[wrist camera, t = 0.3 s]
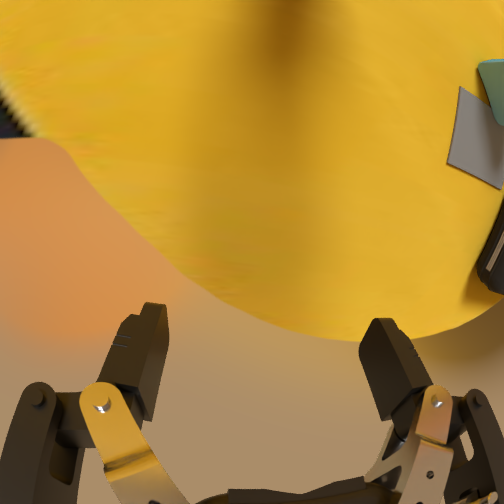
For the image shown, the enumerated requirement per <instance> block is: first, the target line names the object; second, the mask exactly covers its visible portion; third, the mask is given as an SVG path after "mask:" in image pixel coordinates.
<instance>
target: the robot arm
mask: <svg viewBox="0 0 504 504" xmlns="http://www.w3.org/2000/svg"><path fill="white" fill-rule="evenodd" d="M168 346H169V328H168V317H167V308H166V305H165V304H157V303H150V302H146V303H145V304H144V306H143V308H142V310H141V313H140V315H134V314H131V315H129V317H127V318H126V319H125V320H124V321H123V322H122V323H121V325H120V327H119V329H118V332H117V335H116V336H115V339H114V341H113V345H111V348H110V350H109V352H108V355H107V357H106V360H105V362H104V365H103V367H102V370H101V372H100V375H99V377H98V379H97V381H96V382H95V383H93V384H91V385H89V386H88V387H86V388H85V389H84V390H83V391H82V392H72V393H71V392H70V393H60V392H58V393H57V392H54V390H53V389H52V388H51V387H50V386H49V385H48V384H46V383H43V382H35V383H32V384H30V385H28V386H27V387H26V388H25V389H24V391H23V393H22V395H21V398H20V400H19V403H18V405H17V408H16V411H15V413H14V416H13V419H12V422H11V425H10V428H9V431H8V434H7V437H6V441H5V444H4V448H3V452H2V455H1V459H0V504H77V495H78V488H79V480H80V474H81V468H82V462H83V457H84V452H85V448H97V450H98V453H99V455H100V457H101V459H102V461H103V464H104V473H105V476H106V478H107V480H108V482H109V484H110V486H111V487H112V489H113V491H114V493H115V494H116V496H117V498H118V500H119V501H120V503H121V504H189V502H188V501H187V500H186V498H185V497H184V496H183V495H182V493H181V492H180V491H179V489H178V488H177V487H176V485H175V484H174V483H173V481H172V480H171V479H170V477H169V475H168V474H167V473H166V471H165V470H164V468H163V467H162V465H161V464H160V462H159V461H158V459H157V458H156V456H155V454H154V453H153V451H152V450H151V448H150V446H149V445H148V443H147V442H146V440H145V438H144V436H143V435H142V433H141V428H142V423H143V420H145V421H151V422H152V418H153V413H154V408H155V403H156V398H157V394H158V390H159V385H160V381H161V376H162V372H163V368H164V363H165V359H166V355H167V351H168ZM359 358H360V361H361V364H362V366H363V369H364V372H365V375H366V377H367V380H368V383H369V386H370V388H371V391H372V394H373V397H374V400H375V403H376V406H377V409H378V412H379V415H380V418H381V421H386V420H391V419H392V421H393V424H392V425H391V426H390V428H389V431H388V433H387V436H386V439H385V441H384V444H383V446H382V448H381V451H380V453H379V456H378V458H377V460H376V462H375V464H374V465H373V467H372V468H371V469H370V470H369V471H368V472H367V474H366V475H365V476H361V477H356V478H352V479H347V480H343V481H337V482H333V483H331V484H328V485H326V486H323V487H321V488H318V489H315V490H313V491H310V492H307V493H304V494H293V493H286V492H279V491H272V490H267V489H228V492H227V493H226V494H220V495H216V496H212V497H209V498H207V499H204V500H202V501H200V502H198V503H196V504H440V502H441V499H442V496H443V494H444V499H445V504H504V438H503V435H502V432H501V430H500V427H499V425H498V422H497V420H496V417H495V415H494V413H493V410H492V408H491V406H490V404H489V402H488V399H487V397H486V396H485V394H484V393H483V392H481V391H480V390H478V389H471V390H470V391H469V392H468V393H467V394H466V395H465V396H464V397H457V396H451V395H450V393H449V392H448V390H446V389H445V388H444V387H442V386H440V385H434V384H433V383H432V381H431V379H430V377H429V375H428V373H427V371H426V369H425V367H424V365H423V363H422V361H421V359H420V357H418V354H417V352H416V350H415V349H414V346H413V344H412V343H411V341H410V339H409V337H407V336H406V335H405V334H404V333H403V332H402V331H401V330H399V329H398V327H397V325H396V323H395V322H394V320H393V319H392V318H374V319H373V320H372V322H371V324H370V326H369V328H368V330H367V331H366V333H365V335H364V337H363V339H362V341H361V343H360V346H359ZM466 430H467V431H468V434H469V437H470V440H471V443H472V446H473V449H474V455H473V458H472V459H471V460H470V461H468V460H467V458H466V455H465V451H464V448H463V445H462V442H461V439H460V435H461V434H463V433H464V432H465V431H466Z"/></svg>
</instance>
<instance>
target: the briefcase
mask: <svg viewBox="0 0 504 504" xmlns="http://www.w3.org/2000/svg"><path fill="white" fill-rule="evenodd" d="M477 273H478V276H479V278H480V280H481V282H482V283H484V284H485V285H486V286H487V287H488V289H489V290H491V291H493V292H496V293H499V294H503V295H504V204H503V207H502V209H501V212H500V214H499V217H498V219H497V222H496V224H495V227H494V229H493V231H492V234H491V236H490V238H489V240H488V242H487V245H486V247H485V249H484V251H483V253H482V255H481V257H480V259H479V261H478V264H477Z"/></svg>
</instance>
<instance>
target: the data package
mask: <svg viewBox="0 0 504 504" xmlns="http://www.w3.org/2000/svg"><path fill="white" fill-rule="evenodd" d="M478 70H479V73H480V76H481V78H482V81H483V84H484V86H485V89H486V92H487V95H488V98H489V101H490V105H491V108H492V111H493V115H494V118H495V120H496V121H497V123H498V124H500V125H502V126H504V59H492V60H487V61H484V62H480V63H479V65H478Z"/></svg>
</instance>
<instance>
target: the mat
mask: <svg viewBox="0 0 504 504" xmlns="http://www.w3.org/2000/svg"><path fill="white" fill-rule="evenodd" d="M447 163H449V164H451V165H454V166H456V167H458V168H460V169H462V170H464V171H466V172H468V173H470V174H472V175H474V176H476V177H478V178H480V179H482V180H484V181H486V182H488V183H490V184H491V185H493V186H495V187H497V188H499V189H500V190H501V189H502V185H503V181H504V126H502V125H500V124H498V123H497V121H496V120H495V118H494V115H493V111H492V108H490V107H489V106H488V105H487V104H485V103H484V102H483V101H481V100H480V99H478V98H477V97H476V96H474V95H473V94H471V93H470V92H468V91H467V90H465V89H464V88H462V87H460V86H459V95H458V104H457V111H456V118H455V124H454V129H453V135H452V140H451V145H450V150H449V154H448V159H447Z"/></svg>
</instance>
